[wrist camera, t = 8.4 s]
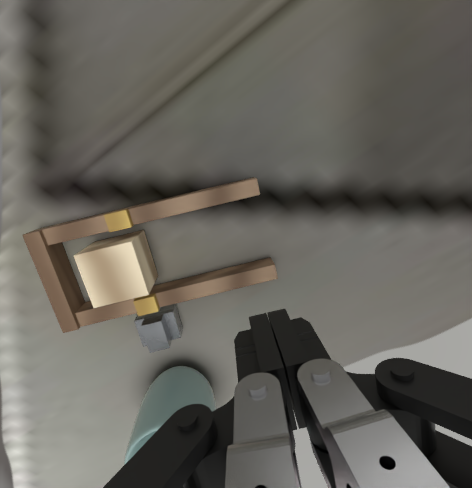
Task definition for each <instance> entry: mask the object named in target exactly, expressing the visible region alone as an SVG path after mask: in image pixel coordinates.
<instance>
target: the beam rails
mask: <svg viewBox="0 0 472 488" xmlns="http://www.w3.org/2000/svg"><path fill="white" fill-rule="evenodd" d="M256 195H260V191H259V187H258V182H257V178H254V177H253V178H248V179H244V180H240V181H236V182H232V183H228V184H223V185H219V186H215V187H211V188H207V189H203V190H198V191H194V192H190V193H186V194H182V195H177V196H173V197H169V198H165V199H161V200H157V201H152V202H148V203H144V204H140V205H136V206H132V207H127V208H123V209H119V210H115V211H111V212H106V213H102V214H98V215H94V216H90V217H86V218H81V219H77V220H73V221H69V222H65V223H60V224H56V225H52V226H48V227H44V228H40V229H37V230H34V231H32V232H29V233H26V234H24V235H23V238H24V240H25V243H26V245H27V247H28V250H29V252H30V255H31V257H32V259H33V262H34V264H35V267H36V269H37V271H38V274H39V276H40V279H41V281H42V283H43V286H44V288H45V291H46V293H47V295H48V298H49V300H50V303H51V305H52V307H53V310H54V312H55V315H56V317H57V319H58V322H59V324H60V327H61V329H62V331H63V333H65V332H69V331H73V330H77V329H79V328H80V327H81V326H85V325H90V324H94V323H98V322H102V321H106V320H110V319H114V318H118V317H122V316H126V315H131V314H135V313H137V314H138V316H142V315H146V314H150V313H154V312H158V311H159V309H160V307H163V306H167V305H172V304H176V303H180V302H184V301H188V300H192V299H196V298H200V297H204V296H208V295H212V294H217V293H221V292H225V291H229V290H233V289H237V288H241V287H245V286H249V285H253V284H258V283H262V282H266V281H270V280H274V279H278V278H277V273H276V268H275V264H274V263H273V261H272V259H271V258H266V259H261V260H257V261H253V262H249V263H245V264H241V265H237V266H233V267H229V268H224V269H220V270H216V271H212V272H208V273H204V274H200V275H196V276H192V277H187V278H183V279H179V280H175V281H171V282H167V283H163V284H159V285H154V286H153V287H152V289H151V291H150V293H149V295H146V296H142V297H138V298H134V299H130V300H126V301H121V302H117V303H113V304H109V305H105V306H101V307H97V308H93V305H92V303H91V301H89V302H85V301H84V298H83V296H82V293H81V291H80V288H79V285H78V283H77V280H76V278H75V275H74V272H73V270H72V267H71V265H70V262H69V259H68V257H67V254H66V252H65V249H64V247H63V244H62V242H65V241H69V240H73V239H77V238H81V237H85V236H90V235H94V234H98V233H102V232H106V231H109V232H113V231H118V230H122V229H126V228H130V227H132V226H134V225H135V224H140V223H144V222H148V221H152V220H156V219H160V218H165V217H169V216H173V215H177V214H181V213H185V212H190V211H194V210H198V209H202V208H206V207H210V206H215V205H219V204H223V203H227V202H231V201H235V200H240V199H244V198H248V197H252V196H256Z"/></svg>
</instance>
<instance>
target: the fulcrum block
mask: <svg viewBox="0 0 472 488" xmlns="http://www.w3.org/2000/svg"><path fill="white" fill-rule="evenodd" d="M135 324H136V327H137V330H138V333H139V336H140V339H141V342H142V344H143V347H144V346H148V349H149V351H150V353H151V352H155V351H159V350H163V349H167V348H170V344H171V340H172V339H176V338H181V335H182V329H183V327H182V324H181V320H180V317H179V314H178V311H177V307H176V304H172V305H167V306H163V307H160V309H159V311H158V312H154V313H150V314H146V315H142V316H138V315H137V317H136V319H135Z"/></svg>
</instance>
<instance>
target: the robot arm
mask: <svg viewBox="0 0 472 488" xmlns="http://www.w3.org/2000/svg"><path fill="white" fill-rule="evenodd" d="M268 319H269V320H268ZM249 320H250V325H251V329H250V330H246V331H241V332H239V333H238V334H237V336H236V338H235V340H234V343H235V353H236V363H237V373H238V384H237V386H236V388H235V396H234V397H233V398H232V399H231V400H230V401H229V402H228V403H227V404H225V405H224V406H222V407H220V408H218V409H216V410H214V411H211V410H210V408H209V407H207V406H206V405H203V404H191V405H187V406H185V407H182V408H181V409H179V410H177V411H176V412H175V413H174V414H173V415H171V417H170V418H169V419H168V420H167V421H166V422H165V423H164V424H163V425H162V426H161V427H160V428H159V429H158V430H157V431H156V432H155V433H154V434H153V436H152V437H151V438H150V439H149V440H148V441H147V442H146V443H145V444H144V445H143V446H142V447H141V448H140V449H139V450H138V451H137V452H136V453H135V455H134V456H133V457H132V458H131V459H130V460H129V461H128V462H127V463H126V464H125V465H124V466H123V467H122V468H121V469H120V470H119V471H118V472H117V473H116V475H115V476H114V477H113V478H112V479H111V480H110V481H109V482H108V483H107V484H106V485H105V486H104V487H103V488H302V486H301V481H300V475H299V470H298V465H297V459H296V454H295V440H294V435H293V430H297V426H296V421H295V417H296V420H297V423H298V426H299V429H300V428H305V427H307V430H308V433H309V436H310V441H311V446H312V450H313V453H314V455H315V458H316V460H317V463H318V465H319V467H320V469H321V472H322V474H323V477H324V479H325V481H326V483H327V486H328V488H472V446H469V445H467V444H465V443H463V442H460V441H458V440H456V439H453V438H452V437H449V436H447V435H445V434H442V433H440V432H438V431H436V430H435V424H437V425H440V426H442V427H444V428H447V429H449V430H451V431H453V432H456V433H458V434H460V435H463V436H465V437H467V438H470V439H472V379H470V378H467V377H464V376H461V375H458V374H454V373H451V372H448V371H445V370H441V369H439V368H435V367H432V366H429V365H426V364H422V363H419V362H416V361H413V360H409V359H404V358H393V359H387V360H384V361H382V362H381V363H379V364H378V365H377V367H376V369H375V374H355V373H349V372H346V371H345V370H344V369H343V367H342V366H341V365H340V364H338V363H337V362H335V361H333V360H331V358H330V356H329V355H328V353H327V351H326V350H325V348H324V346H323V344H322V343H321V341H320V339H319V338H318V336H317V334H316V332H315V331H314V329H313V327H312V326H311V324H310V323H309V322H308V321H306V320H304V319H303V318H297V319H293V320H290V318H289V316H288V314H287V312H286V310H285V309H281V310H276V311H272V312H268V317H267V314H266V313H264V314H260V315H255V316H251V317H249ZM293 410H294V412H293ZM294 413H295V417H294Z"/></svg>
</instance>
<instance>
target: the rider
mask: <svg viewBox="0 0 472 488" xmlns="http://www.w3.org/2000/svg"><path fill="white" fill-rule="evenodd" d="M74 258H75V261H76V263H77V266H78V269H79V271H80V274H81V276H82V279H83V282H84V284H85V287H86V290H87V292H88V295H89V297H90V300H91V303H92V305H93V308H97V307H101V306H105V305H109V304H113V303H117V302H121V301H126V300H130V299H134V298H138V297H142V296H146V295H149V293H150V291H151V289H152V287H153V285H154V283H155V281H156V279H157V277H158V274H157V270H156V267H155V264H154V261H153V258H152V254H151V251H150V248H149V245H148V242H147V238H146V235H145V232H144V230H141V231H137V232H133V233H128V234H124V235H120V236H116V237H112V238H108V239H104V240H99V241H95V242H93V243H92V244H90V245H89V246H87V247H86V248H84V249H83V250H81V251H80V252H78V253H77V254H75V255H74Z"/></svg>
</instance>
